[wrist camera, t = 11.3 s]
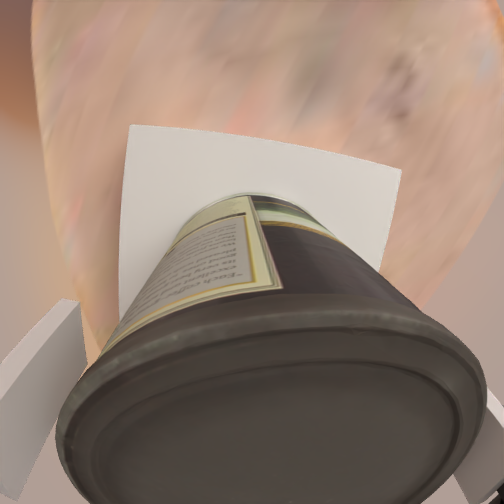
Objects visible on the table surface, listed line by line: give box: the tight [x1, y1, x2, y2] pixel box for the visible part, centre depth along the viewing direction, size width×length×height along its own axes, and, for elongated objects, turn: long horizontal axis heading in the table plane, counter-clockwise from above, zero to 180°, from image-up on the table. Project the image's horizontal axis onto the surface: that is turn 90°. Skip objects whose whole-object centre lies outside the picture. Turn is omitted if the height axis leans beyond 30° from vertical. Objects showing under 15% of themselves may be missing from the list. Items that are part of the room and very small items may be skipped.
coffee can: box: [55, 192, 487, 504], centre depth 12 cm, size 10×10×14 cm
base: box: [119, 124, 402, 323], centre depth 21 cm, size 16×16×5 cm
